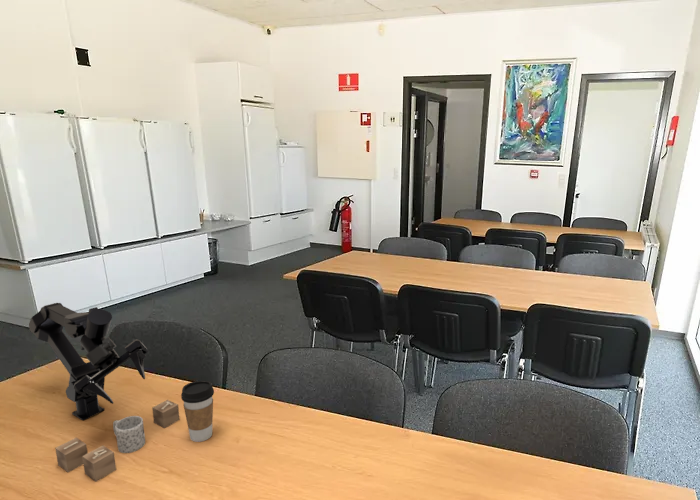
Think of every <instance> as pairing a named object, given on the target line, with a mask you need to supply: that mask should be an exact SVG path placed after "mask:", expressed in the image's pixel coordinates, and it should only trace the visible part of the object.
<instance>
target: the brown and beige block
mask: <svg viewBox="0 0 700 500" xmlns="http://www.w3.org/2000/svg"><path fill="white" fill-rule="evenodd" d="M151 409H152V418H153V423H154V424H155V425H157V426H159V427H161V428H163V429H166V428H168V427H169V426H171V425H173V424H175V423H177V422H178V421H180V411H179V410H180V408H179V404H177V403H175V402H174V401H171V400H169V399H166V400H164V401H162V402H160V403H158V404H157V405H155V406H152V408H151Z"/></svg>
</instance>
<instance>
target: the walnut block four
mask: <svg viewBox="0 0 700 500" xmlns="http://www.w3.org/2000/svg"><path fill="white" fill-rule="evenodd" d="M115 457H116V456H115V452H114V451H113V450H111V449H110V448H108V447H107V446H105V445H104V444H103V445H101V446H99V447H97V448H95V449H93V450H90V451H89V452H88V453H87V454H86V455H84V456H82V458H83V471H84V474H85V475H86V476H87V477H88V478H90V479H91V480H92V481H94V482H99V481H100V480H102V479H103V478H106V476H109V475H110V474H111V473H113V472H115V471H117V463H116V458H115Z"/></svg>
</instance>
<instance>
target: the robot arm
mask: <svg viewBox="0 0 700 500" xmlns="http://www.w3.org/2000/svg"><path fill="white" fill-rule="evenodd" d="M112 319H113V314H112V313H111V312H110V311H107V310H105V309H99V308H98V307H96V306H95V307H91V308H89V309H88V311H85V312H83V311H82V312H78V311H77V312H76V311H74V310H72V309H70V308H68V307H66V306H64V305H63V304H62V303H61V302H55V303H54V302H53V303H50V304H45V305H43V306H42V307H40V310H39V311H38V312H37V313H35V314H34V315H32V316H31V318H30V320H29V322H28V328H29V331H30V333H31V334H33V335H34V336H35V337H36V338H37V339H38V340H40V341H43V342H45V343H47V344H48V345H49V346H50V347H51V349H52V351H53V352H54V353H55V355H56V356H57V358H58V360H59V361H60V362H61V364H62V365H63V367H64V368H65V370H66V371H67V372H68V374H69V377H68V378H69V380H68V386H67V387H66V389H65V395H66V397H67V399H69V400H71V401H72V402H74V403H75V407H76V408H75V409H76V410H75V411H73V412H71V414H72V415H73V416H75V417H76V418H78V419H79V420H81V421H85V420H87V419H89V418H91V417H93V416H95V415H97V414H100V413H102V412H103V411H105V408H104V407H102V406H101V405H99V397H101V398H103V399H104V400H106V401H107V402H109V403H110V404H112V405H113V404H114V401H113V399H112V398H111V396H110V395H109V394H108V393H107V392H106V391H105V390H104V389H105V381H106V380H105V378H106V377H107V376H108V375H109V374H111V373H112V372H113V371H115V370H116V369H118V368H119V367H120V366H122V365H123V364H124V363H126V362H127V361H129V360H130V359H131V361H132V363H133V365H134V366H135V368H136V370H137V372H138V374H139V375H140V377H141V378H142V379H143V380H145V379H146V373H145V368H144V359H145V358H146V354H148V353H149V349H148V348H147V346H145V344H144V343H143V342H141V340H139V339H134V340H132V341H131V342H130V343H128V344H127V345H126V346H124V349H125V350H126V352H124V353H123V354H121V355H120V356H119V354H118V353H117V352H116V350H115V348H117V345H116V343H115V342H114V340H113V339H111V338H110V337H109V336H107V335H109V331H110V326H111V323H112ZM63 328H64V330H65V333H66V334H65V333H64V331H63ZM67 335H68V337H67ZM106 336H107V337H106ZM69 337H70V338H72V339H77V338H80V337H81V338H80V342H79V343H80V350H81V351H85V352H86V355H85V357H86V359H87V360H88V362H86V361H84V359H83V357H82V356H81V354H79V352H78V351H77V349H76V348H75V346H74V345H73V344H72V343H71V341H70V340H69ZM98 396H99V397H98Z"/></svg>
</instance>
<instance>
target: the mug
mask: <svg viewBox="0 0 700 500" xmlns="http://www.w3.org/2000/svg"><path fill="white" fill-rule="evenodd" d="M143 419H144V418H143V417H141V416H139V415H131V416H126V417H124V418H121V419H119V420H118V419H117V420H114V421H113V423H112V428H113V433H114V436H116V443H117V451H118V452H119V453H122V454H130V453H134V452H136V451H140V449H142V448H143V447H144V446H145V445H146V435H145V428H144V427H145V426H144V420H143Z"/></svg>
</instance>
